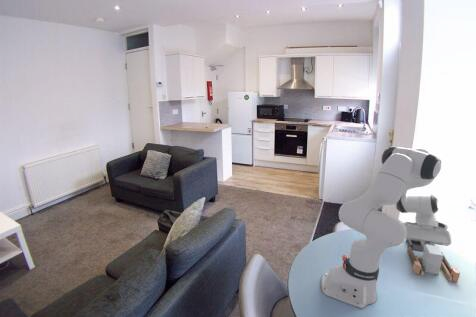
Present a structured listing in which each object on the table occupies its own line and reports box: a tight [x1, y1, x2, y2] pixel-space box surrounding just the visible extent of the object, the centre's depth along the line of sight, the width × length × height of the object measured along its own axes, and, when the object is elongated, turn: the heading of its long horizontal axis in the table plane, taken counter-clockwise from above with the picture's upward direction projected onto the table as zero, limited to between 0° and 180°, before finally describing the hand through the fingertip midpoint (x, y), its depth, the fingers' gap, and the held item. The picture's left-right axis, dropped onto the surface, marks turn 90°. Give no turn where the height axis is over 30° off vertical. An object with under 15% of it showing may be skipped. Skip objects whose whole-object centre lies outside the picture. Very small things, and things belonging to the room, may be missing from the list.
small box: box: [420, 244, 444, 275], centre depth 131 cm, size 8×6×10 cm
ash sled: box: [414, 243, 452, 282], centre depth 131 cm, size 12×14×9 cm
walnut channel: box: [407, 245, 453, 274], centre depth 137 cm, size 15×14×3 cm
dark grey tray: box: [405, 239, 429, 253], centre depth 148 cm, size 12×9×3 cm
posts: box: [412, 261, 461, 283], centre depth 127 cm, size 17×3×5 cm, turn 71°
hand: (427, 251), depth 138 cm, fingers closed, pressing on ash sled
